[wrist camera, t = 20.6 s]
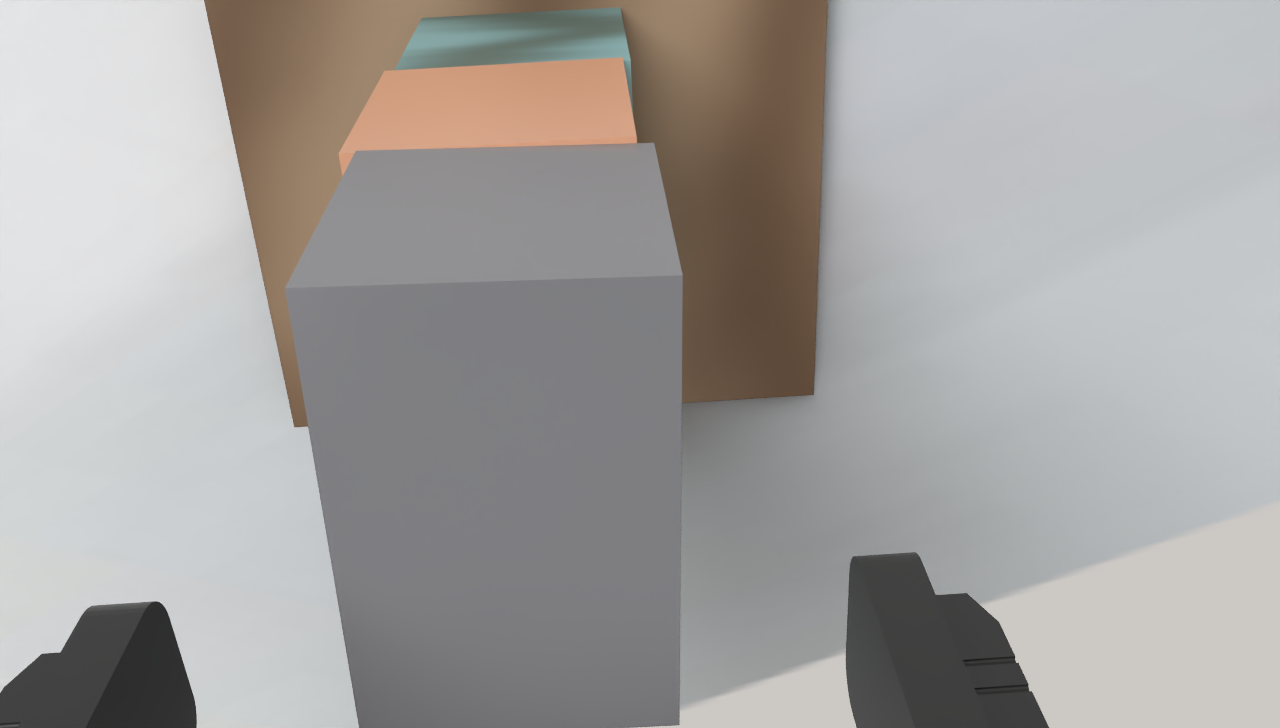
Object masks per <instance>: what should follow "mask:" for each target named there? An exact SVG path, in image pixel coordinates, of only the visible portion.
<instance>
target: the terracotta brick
mask: <svg viewBox="0 0 1280 728" xmlns="http://www.w3.org/2000/svg"><path fill="white" fill-rule="evenodd" d="M626 143H637V136H636V130H635V124H634V119H633V113H632V107H631V101H630V96H629V90H628V84H627V79H626V73H625V67H624V61H623V57H618V58H601V59H583V60H566V61H548V62H531V63H513V64H496V65H478V66H461V67H443V68H426V69H408V70H391V71H384V73H383V74H382V76H381V78H380V80H379V82H378V83H377V85H376V87H375V89H374V91H373V92H372V94H371V96H370V98H369V100H368V101H367V103H366V105H365V107H364V109H363V110H362V112H361V114H360V116H359V118H358V119H357V121H356V123H355V125H354V127H353V128H352V130H351V132H350V134H349V136H348V137H347V139H346V141H345V143H344V145H343V146H342V148H341V150H340V152H339V160H340V166H341V171H342V177H343V175H344V173H345V171H346V169H347V167H348V165H349V163H350V161H351V159H352V157H353V155H354V153H355V151H365V150H403V149H440V148H477V147H514V146H552V145H589V144H626Z"/></svg>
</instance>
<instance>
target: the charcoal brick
mask: <svg viewBox="0 0 1280 728" xmlns="http://www.w3.org/2000/svg"><path fill="white" fill-rule="evenodd" d="M285 292H286V298H287V303H288V309H289V315H290V321H291V327H292V333H293V339H294V345H295V351H296V357H297V363H298V368H299V374H300V380H301V386H302V392H303V398H304V404H305V410H306V416H307V422H308V428H309V433H310V439H311V445H312V451H313V457H314V463H315V469H316V475H317V481H318V487H319V493H320V499H321V504H322V510H323V516H324V522H325V528H326V534H327V540H328V546H329V552H330V558H331V564H332V569H333V575H334V581H335V587H336V593H337V599H338V605H339V611H340V617H341V623H342V629H343V635H344V640H345V646H346V652H347V658H348V664H349V670H350V676H351V682H352V688H353V694H354V700H355V705H356V711H357V717H358V723H359V728H630V727H650V726H671V725H679V702H680V567H681V432H682V297H683V275H682V270H681V265H680V261H679V256H678V251H677V247H676V242H675V238H674V233H673V228H672V224H671V219H670V214H669V210H668V205H667V200H666V196H665V191H664V186H663V182H662V177H661V173H660V168H659V163H658V159H657V154H656V149H655V145H654V143H626V144H589V145H552V146H514V147H477V148H440V149H403V150H365V151H355V153H354V155H353V157H352V159H351V161H350V163H349V165H348V167H347V169H346V171H345V173H344V175H343V177H342V178H341V180H340V182H339V184H338V186H337V188H336V190H335V192H334V194H333V196H332V198H331V200H330V202H329V204H328V206H327V208H326V209H325V211H324V213H323V215H322V217H321V219H320V221H319V223H318V225H317V227H316V229H315V231H314V233H313V235H312V237H311V239H310V240H309V242H308V244H307V246H306V248H305V250H304V252H303V254H302V256H301V258H300V260H299V262H298V264H297V266H296V268H295V269H294V271H293V273H292V275H291V277H290V279H289V281H288V283H287V285H286V287H285Z"/></svg>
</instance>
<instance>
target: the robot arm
mask: <svg viewBox="0 0 1280 728" xmlns="http://www.w3.org/2000/svg"><path fill="white" fill-rule="evenodd" d="M846 673H847V684H848V691H849V698H850V703H851V708H852V712H853V716H854V719H855V723H856V727H857V728H1049V727H1048V725H1047V722H1046V720H1045V718H1044V716H1043V714H1042V712H1041V710H1040V708H1039V706H1038V703H1037V702H1036V699H1035V697H1034V695H1033V693H1032V692H1029V688H1028V683H1027V680H1026V678H1025V676H1024V674H1023V672H1022V670H1021V668H1020V666H1019V663H1016V661H1015V655H1014V653H1013V651H1012V649H1011V647H1010V645H1009V642H1008V640H1007V638H1006V636H1005V634H1004V632H1003V630H1002V628H1001V626H1000V624H999V622H998V621H997V620H996V619H995V618H994V617H992V615H990V614H989V613H988V612H987V611H986V610H985V609H984V608H983V607H981V606H980V605H979V604H978V603H977V602H976V601H975V600H974V599H973V598H971V597H970V596H969V595H968V594H967V593H963V594H948V595H935V592H934V590H933V588H932V585H931V583H930V580H929V578H928V576H927V573H926V571H925V568H924V566H923V563H922V561H921V559H920V557H919V556H918V554H917V553H914V552H913V553H899V554H884V555H869V556H854V557H853V558H852V560H851V564H850V573H849V596H848V619H847V641H846ZM196 724H197V719H196V706H195V700H194V696H193V693H192V690H191V687H190V683H189V680H188V677H187V674H186V670H185V667H184V664H183V661H182V657H181V654H180V651H179V648H178V644H177V641H176V638H175V635H174V631H173V628H172V625H171V622H170V618H169V616H168V613H167V611H166V609H165V607H164V606H163V605H162V604H161V603H160V602H141V603H127V604H112V605H97V606H91V607H89V608H88V609H87V610H86V611H85V612H84V613H83V615H82V616H81V618H80V620H79V621H78V623H77V625H76V627H75V628H74V630H73V632H72V634H71V635H70V637H69V639H68V640H67V642H66V644H65V646H64V647H63V649H62V651H61V653H48V654H41V655H40V656H39V657H38V658H37V659H36V660H35V661H34V662H32V663H31V664H30V665H29V666H28V667H27V668H26V669H24V670H23V671H22V672H21V673H20V674H19V675H18V676H16V677H15V678H14V679H13V680H12V681H11V682H10V683H9V684H7V685H6V686H5V687H4V688H3V690H2V692H1V693H0V728H196Z"/></svg>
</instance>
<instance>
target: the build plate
mask: <svg viewBox="0 0 1280 728" xmlns="http://www.w3.org/2000/svg"><path fill="white" fill-rule="evenodd" d="M204 2H205V6H206V11H207V16H208V21H209V25H210V30H211V35H212V40H213V44H214V49H215V54H216V58H217V63H218V68H219V73H220V77H221V82H222V87H223V92H224V96H225V101H226V106H227V110H228V115H229V120H230V125H231V129H232V134H233V139H234V144H235V148H236V153H237V158H238V162H239V167H240V172H241V177H242V181H243V186H244V191H245V196H246V200H247V205H248V210H249V214H250V219H251V224H252V229H253V233H254V238H255V243H256V248H257V252H258V257H259V262H260V267H261V271H262V276H263V281H264V285H265V290H266V295H267V300H268V304H269V309H270V314H271V319H272V323H273V328H274V333H275V337H276V342H277V347H278V352H279V356H280V361H281V366H282V371H283V375H284V380H285V385H286V389H287V394H288V399H289V404H290V408H291V413H292V418H293V423H294V427H306V426H308V422H307V416H306V410H305V404H304V398H303V392H302V386H301V380H300V374H299V368H298V363H297V357H296V351H295V345H294V339H293V333H292V327H291V321H290V315H289V309H288V303H287V298H286V292H285V287H286V285H287V283H288V281H289V279H290V277H291V275H292V273H293V271H294V269H295V268H296V266H297V264H298V262H299V260H300V258H301V256H302V254H303V252H304V250H305V248H306V246H307V244H308V242H309V240H310V239H311V237H312V235H313V233H314V231H315V229H316V227H317V225H318V223H319V221H320V219H321V217H322V215H323V213H324V211H325V209H326V208H327V206H328V204H329V202H330V200H331V198H332V196H333V194H334V192H335V190H336V188H337V186H338V184H339V182H340V180H341V178H342V171H341V166H340V160H339V152H340V150H341V148H342V146H343V145H344V143H345V141H346V139H347V137H348V136H349V134H350V132H351V130H352V128H353V127H354V125H355V123H356V121H357V119H358V118H359V116H360V114H361V112H362V110H363V109H364V107H365V105H366V103H367V101H368V100H369V98H370V96H371V94H372V92H373V91H374V89H375V87H376V85H377V83H378V82H379V80H380V78H381V76H382V74H383V73H384V71H391V70H408V69H426V68H443V67H461V66H478V65H496V64H513V63H531V62H548V61H566V60H583V59H601V58H618V57H623V61H624V67H625V73H626V79H627V84H628V90H629V96H630V101H631V107H632V113H633V119H634V124H635V130H636V136H637V143H654V145H655V149H656V154H657V159H658V163H659V168H660V173H661V177H662V182H663V186H664V191H665V196H666V200H667V205H668V210H669V214H670V219H671V224H672V228H673V233H674V238H675V242H676V247H677V251H678V256H679V261H680V265H681V270H682V275H683V297H682V403H690V402H706V401H722V400H738V399H753V398H769V397H785V396H801V395H814V371H815V342H816V313H817V285H818V256H819V227H820V198H821V169H822V140H823V112H824V83H825V54H826V25H827V0H204Z"/></svg>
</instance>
